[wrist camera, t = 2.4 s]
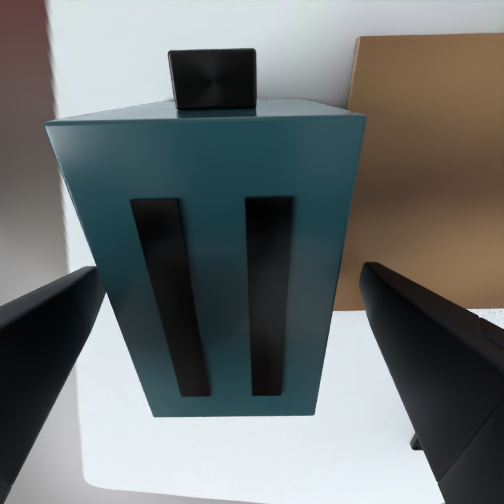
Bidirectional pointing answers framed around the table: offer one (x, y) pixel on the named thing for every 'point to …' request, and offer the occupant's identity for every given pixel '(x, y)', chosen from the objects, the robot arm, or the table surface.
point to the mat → (429, 166)
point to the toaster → (217, 233)
